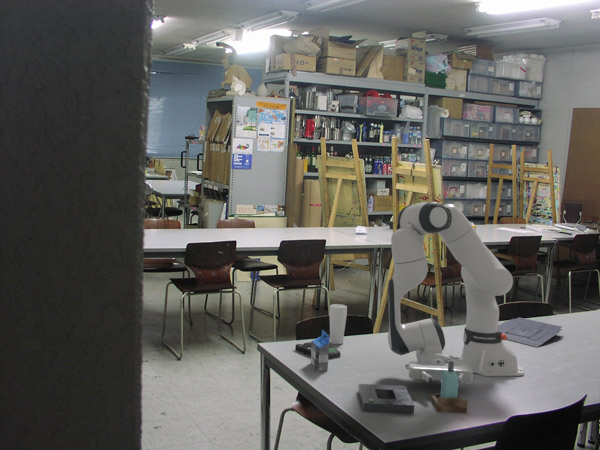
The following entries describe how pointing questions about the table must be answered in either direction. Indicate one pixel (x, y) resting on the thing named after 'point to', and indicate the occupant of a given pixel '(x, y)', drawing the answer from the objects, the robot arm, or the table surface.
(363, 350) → the table surface
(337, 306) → the drinking glass
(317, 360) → the blue product box
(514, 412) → the table surface
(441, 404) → the open wooden frame
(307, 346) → the disk drive
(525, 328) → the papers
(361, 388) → the port block
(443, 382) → the plug
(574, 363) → the table surface
